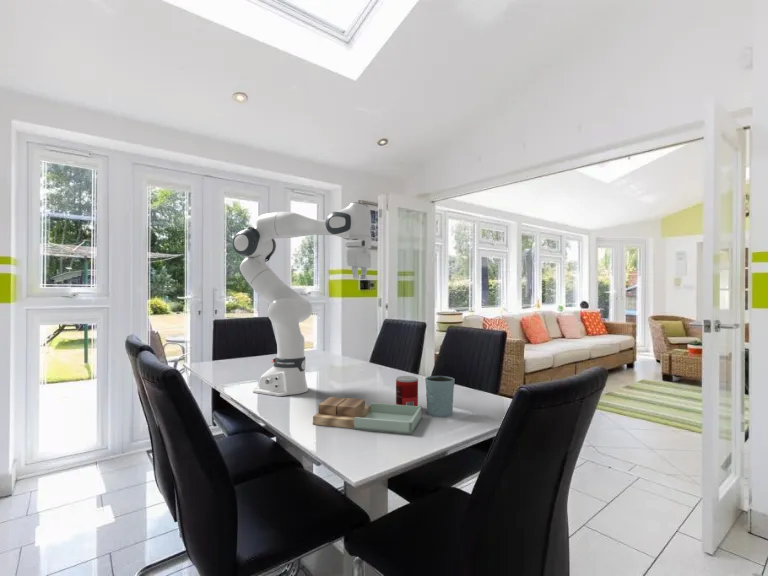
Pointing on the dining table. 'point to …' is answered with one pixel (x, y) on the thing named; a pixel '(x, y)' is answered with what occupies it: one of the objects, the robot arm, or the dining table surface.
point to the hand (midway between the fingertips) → (359, 278)
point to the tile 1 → (330, 405)
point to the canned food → (407, 390)
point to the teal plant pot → (439, 395)
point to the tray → (390, 418)
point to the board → (338, 419)
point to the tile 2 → (351, 407)
